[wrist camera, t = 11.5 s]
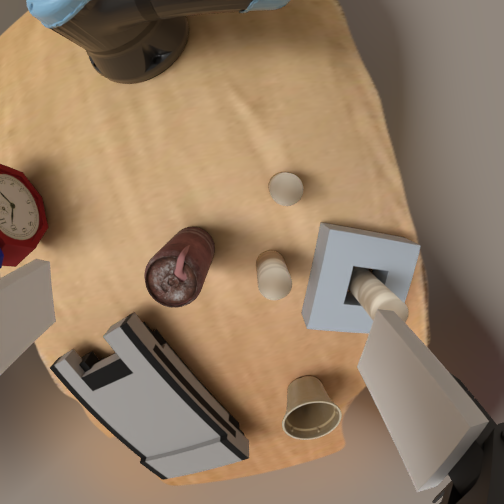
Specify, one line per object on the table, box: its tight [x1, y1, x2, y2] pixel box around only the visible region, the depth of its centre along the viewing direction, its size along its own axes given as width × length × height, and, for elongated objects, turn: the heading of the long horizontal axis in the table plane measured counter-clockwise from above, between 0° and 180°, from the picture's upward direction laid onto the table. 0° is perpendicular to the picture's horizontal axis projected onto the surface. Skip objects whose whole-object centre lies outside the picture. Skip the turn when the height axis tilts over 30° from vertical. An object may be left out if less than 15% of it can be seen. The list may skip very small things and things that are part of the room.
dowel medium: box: [256, 250, 292, 300], centre depth 40 cm, size 4×4×8 cm
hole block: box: [301, 222, 421, 333], centre depth 42 cm, size 14×14×5 cm
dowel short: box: [269, 172, 303, 206], centre depth 38 cm, size 4×4×5 cm
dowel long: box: [348, 266, 408, 323], centre depth 38 cm, size 4×4×14 cm
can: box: [145, 227, 215, 307], centre depth 36 cm, size 6×6×14 cm
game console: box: [50, 312, 249, 479], centre depth 46 cm, size 21×32×8 cm, turn 31°
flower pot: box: [282, 376, 341, 440], centre depth 46 cm, size 9×9×9 cm
